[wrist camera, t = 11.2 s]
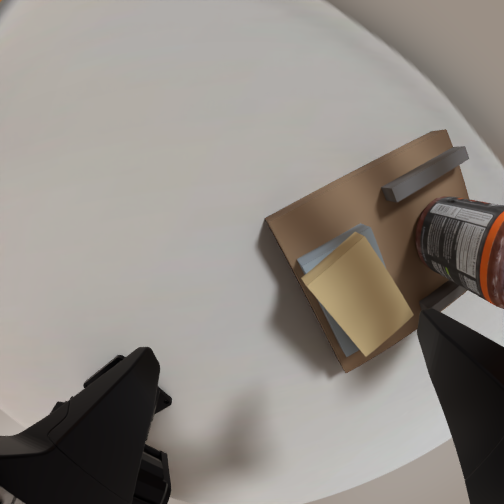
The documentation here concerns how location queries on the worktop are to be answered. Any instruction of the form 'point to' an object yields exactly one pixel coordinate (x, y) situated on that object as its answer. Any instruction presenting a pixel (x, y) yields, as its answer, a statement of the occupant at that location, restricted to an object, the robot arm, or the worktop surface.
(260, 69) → the worktop surface
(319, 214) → the shelf board
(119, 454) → the robot arm
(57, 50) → the worktop surface
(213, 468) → the worktop surface
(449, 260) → the supplement bottle
